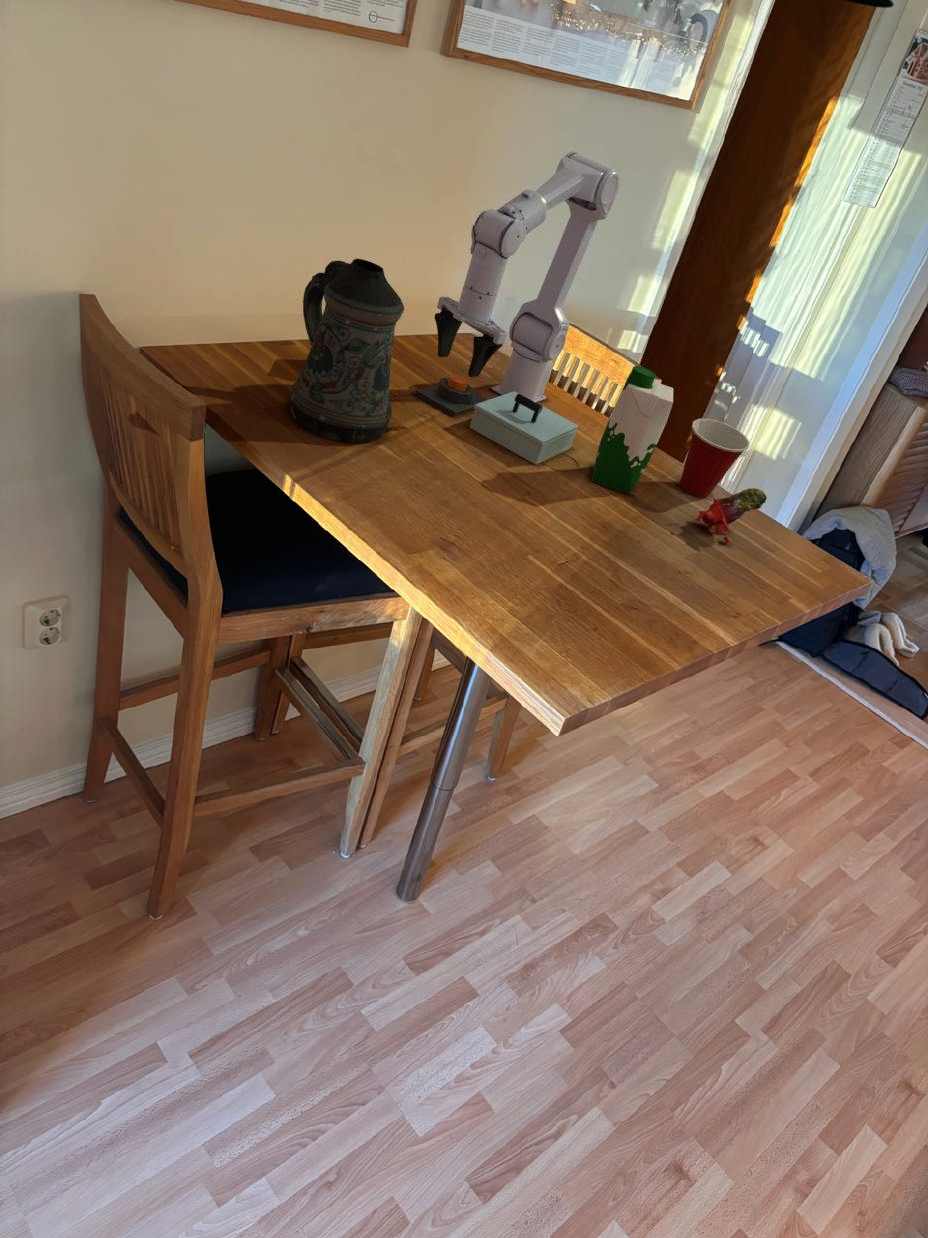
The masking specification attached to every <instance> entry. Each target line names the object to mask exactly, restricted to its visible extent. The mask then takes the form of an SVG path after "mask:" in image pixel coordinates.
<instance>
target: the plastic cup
mask: <svg viewBox="0 0 928 1238" xmlns="http://www.w3.org/2000/svg"><path fill="white" fill-rule="evenodd" d="M691 429H692V434H691V439H690V444H689V447H688V452H687V455H686V458H685V462H684V465H683V470H682V474H681V476H680V481H679V482H680V483H679V487H680V488H681V489H682V490H683V491H685V493H688V494H689V495H691V496H694V497H697V498H701V499H702V498H703V499H705V498H708V497H709V496H710V495H711V494H712V493H713V491H714V490H715V488H717V486H718V484H719V483H720V482H721V481H722V480H723V478H724V477H725V476H726V474H727V473H728V472H729V470H730V469H731V468H732V466H733V465H734V463H735V462H736V461H737V460H738V459H739V458H740V456H741V455H742V454H743V453H744V452H746V451H747V450H748V449H749V448H750V445H751V443H750V440H749V439H748V437H747V436H746V435H745V434H744V433H743V432H741V431H740V430H739V429H737V428H735V427H733V426H732V425H730V424H728V423H725V422H723V421H720V420H717V419H711V418H697V419H695V420H693V421H692V424H691Z"/></svg>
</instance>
